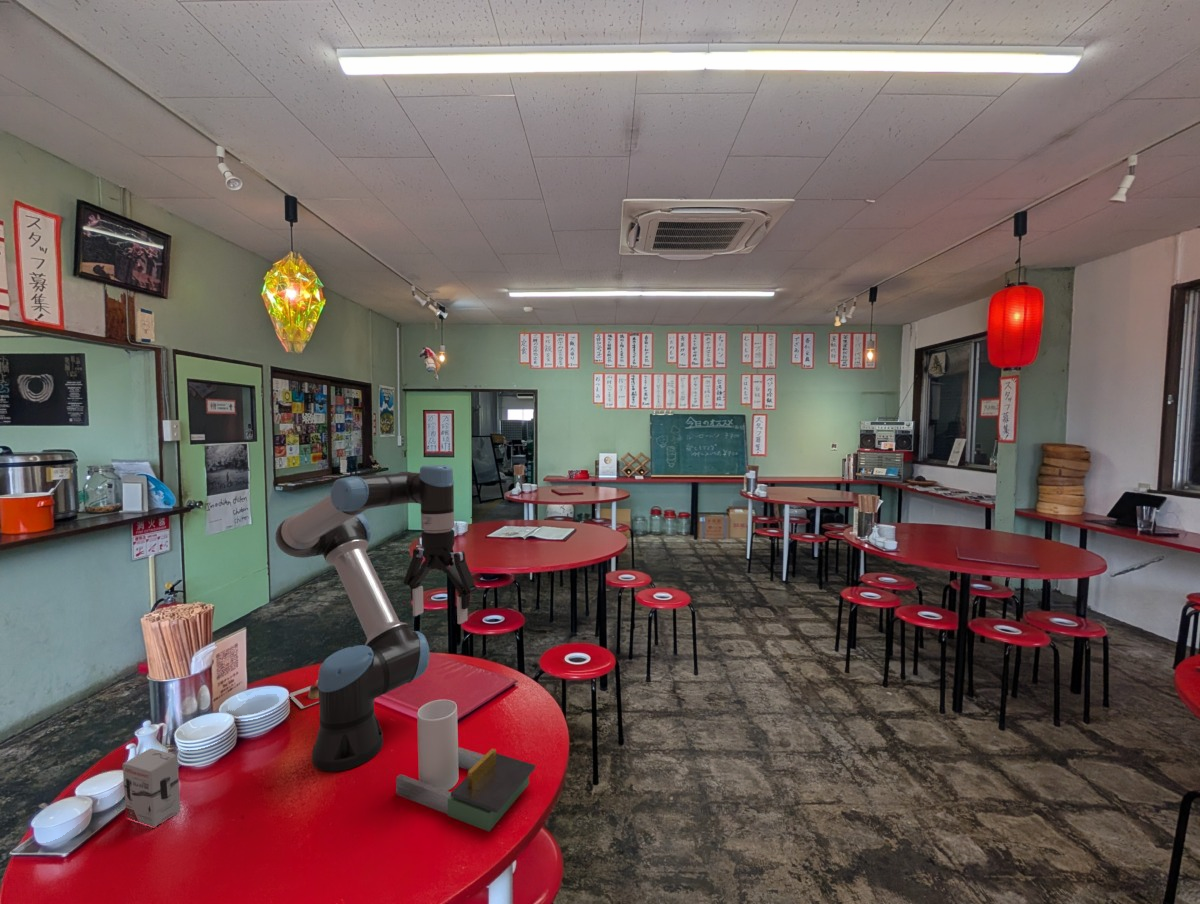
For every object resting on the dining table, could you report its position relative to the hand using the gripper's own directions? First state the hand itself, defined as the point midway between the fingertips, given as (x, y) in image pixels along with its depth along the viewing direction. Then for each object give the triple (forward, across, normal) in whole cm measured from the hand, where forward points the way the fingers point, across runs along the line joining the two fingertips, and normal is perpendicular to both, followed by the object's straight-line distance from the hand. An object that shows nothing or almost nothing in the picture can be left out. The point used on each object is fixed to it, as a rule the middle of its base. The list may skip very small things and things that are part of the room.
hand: (439, 618), depth 119 cm
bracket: (+32, +9, -10) cm, 34 cm away
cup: (+32, +7, -10) cm, 34 cm away
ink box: (+32, -38, -40) cm, 64 cm away
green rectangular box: (+32, +21, -10) cm, 39 cm away
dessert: (+32, -52, +5) cm, 61 cm away
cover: (+28, +22, -10) cm, 37 cm away
